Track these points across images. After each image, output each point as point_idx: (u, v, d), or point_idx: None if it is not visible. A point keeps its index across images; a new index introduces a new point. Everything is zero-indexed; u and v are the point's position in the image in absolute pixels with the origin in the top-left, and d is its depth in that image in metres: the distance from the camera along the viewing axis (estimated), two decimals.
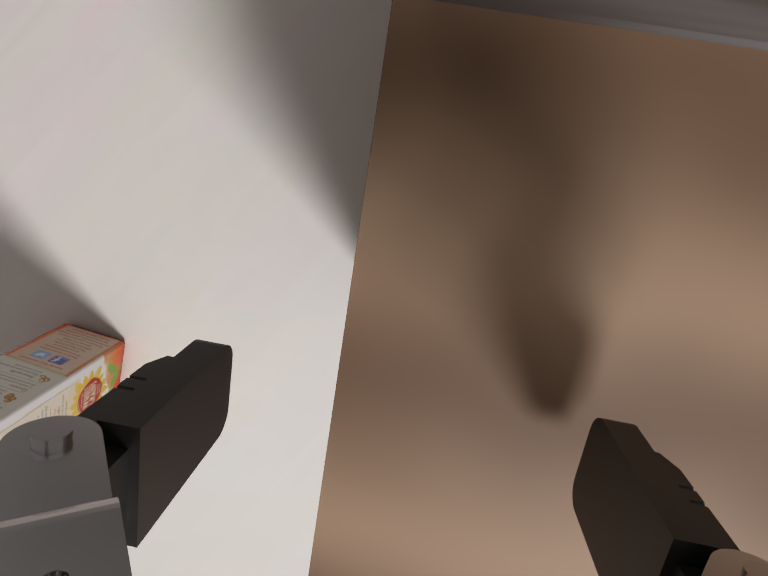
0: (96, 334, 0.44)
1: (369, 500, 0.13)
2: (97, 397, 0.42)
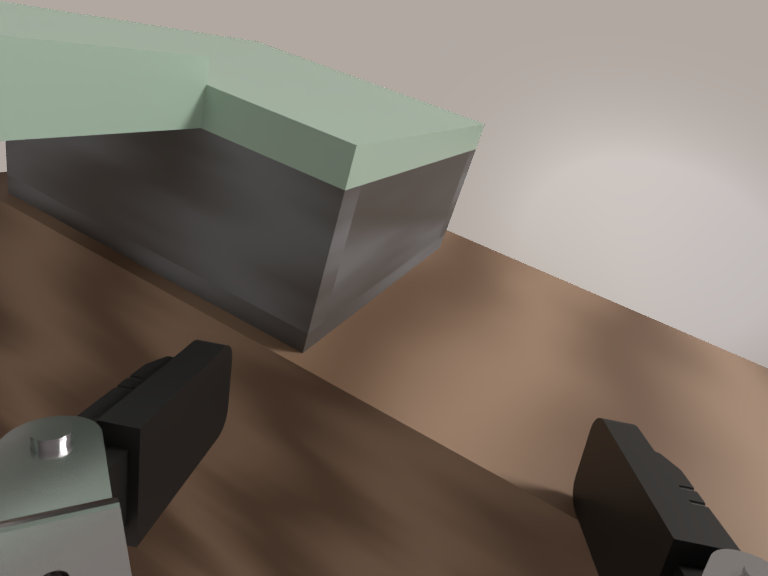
0: None
1: None
2: None
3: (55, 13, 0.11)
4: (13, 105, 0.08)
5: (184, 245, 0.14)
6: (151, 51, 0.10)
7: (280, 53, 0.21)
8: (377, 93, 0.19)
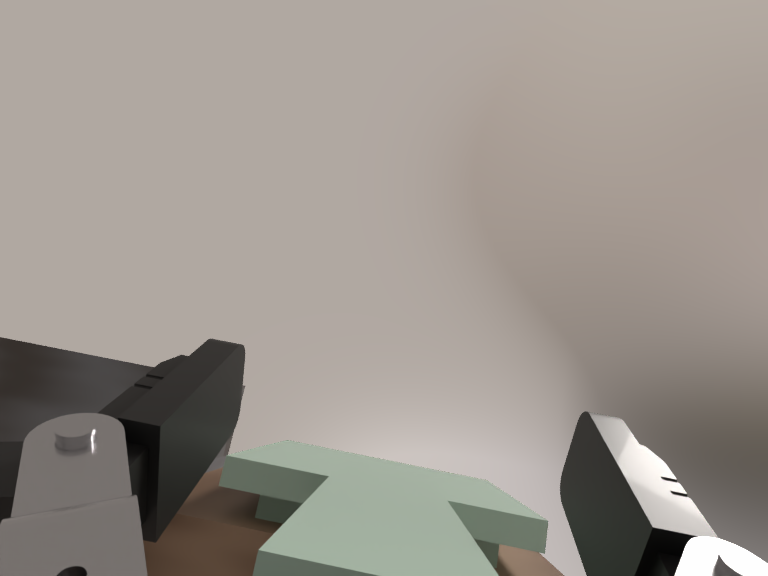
0: None
1: None
2: None
3: (353, 467, 0.16)
4: None
5: (24, 436, 0.18)
6: (435, 484, 0.16)
7: (321, 448, 0.27)
8: (421, 471, 0.26)
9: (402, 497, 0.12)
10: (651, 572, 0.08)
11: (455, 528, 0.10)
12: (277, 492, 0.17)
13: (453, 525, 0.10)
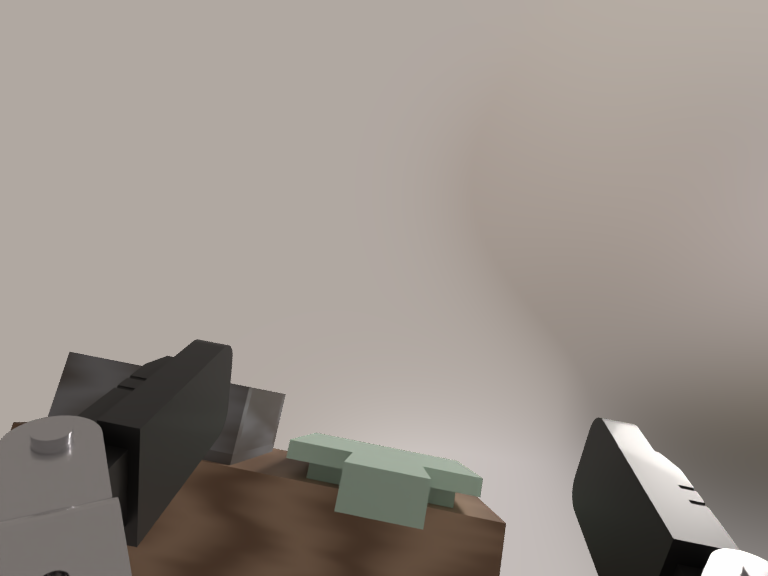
0: None
1: (434, 505, 0.29)
2: None
3: (368, 445, 0.28)
4: None
5: None
6: (415, 455, 0.27)
7: (341, 438, 0.39)
8: None
9: (395, 457, 0.24)
10: None
11: (418, 466, 0.21)
12: (321, 461, 0.29)
13: (417, 466, 0.21)
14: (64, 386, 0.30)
